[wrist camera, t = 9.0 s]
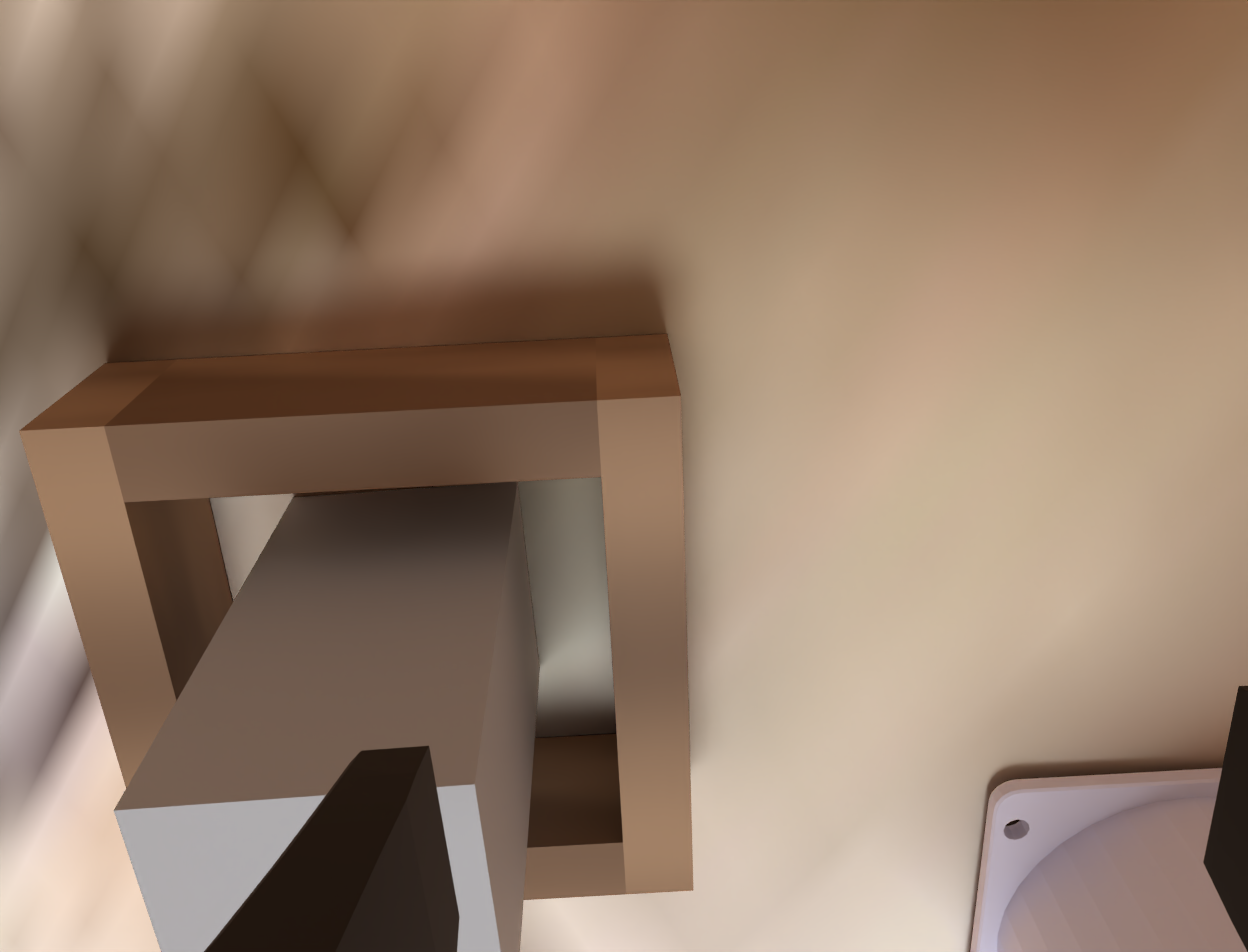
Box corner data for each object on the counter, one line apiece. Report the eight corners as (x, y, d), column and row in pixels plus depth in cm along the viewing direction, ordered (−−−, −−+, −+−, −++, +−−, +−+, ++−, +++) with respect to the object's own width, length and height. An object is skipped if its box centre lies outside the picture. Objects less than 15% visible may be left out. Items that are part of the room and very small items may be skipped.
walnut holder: (679, 777, 22) (692, 890, 19) (218, 803, 22) (165, 920, 19) (666, 334, 18) (680, 395, 15) (104, 363, 18) (18, 430, 15)
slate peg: (539, 668, 21) (513, 1035, 14) (333, 683, 21) (196, 1058, 14) (517, 481, 19) (474, 784, 12) (293, 497, 19) (114, 810, 12)
